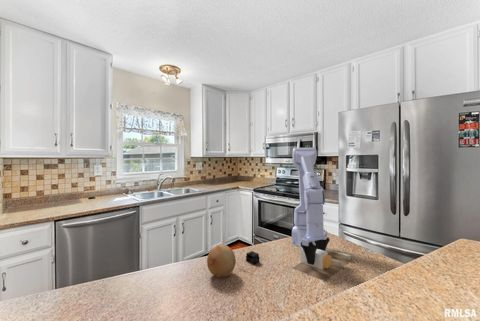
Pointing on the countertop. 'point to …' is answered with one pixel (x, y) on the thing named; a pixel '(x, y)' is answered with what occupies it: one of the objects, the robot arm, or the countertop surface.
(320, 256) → the white tall block
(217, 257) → the onion
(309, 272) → the board
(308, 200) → the robot arm
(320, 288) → the countertop surface
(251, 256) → the black chunky block
